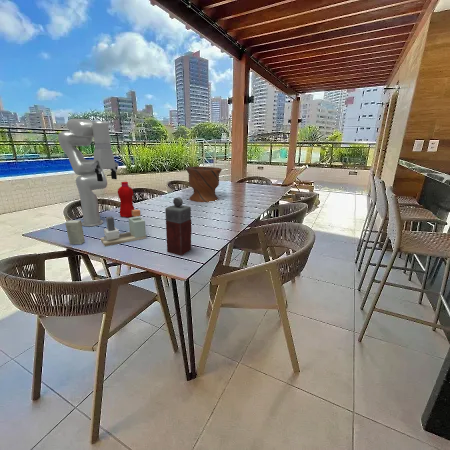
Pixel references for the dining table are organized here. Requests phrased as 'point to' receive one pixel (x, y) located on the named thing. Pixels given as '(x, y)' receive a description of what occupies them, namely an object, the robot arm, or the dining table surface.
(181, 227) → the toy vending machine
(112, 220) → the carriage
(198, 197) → the wooden planter
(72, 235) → the skincare box
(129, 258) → the dining table surface
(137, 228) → the end cabinet
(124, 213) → the water bottle
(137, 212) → the button
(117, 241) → the track
